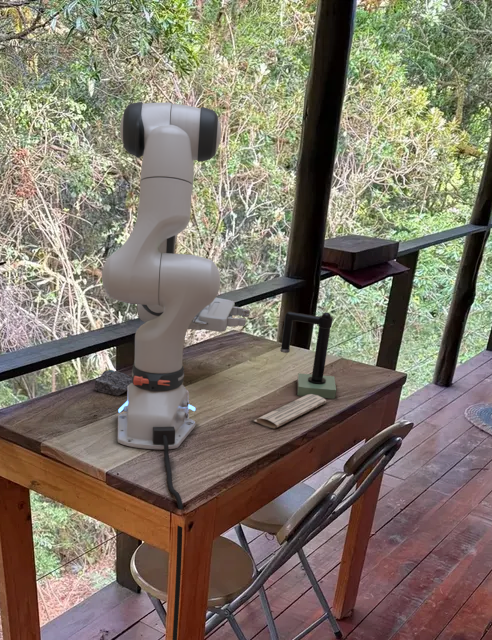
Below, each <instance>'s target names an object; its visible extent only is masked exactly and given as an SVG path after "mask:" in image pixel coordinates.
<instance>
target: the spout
mask: <svg viewBox="0 0 492 640" xmlns="http://www.w3.org/2000/svg"><path fill="white" fill-rule="evenodd" d="M333 319H334V318H333V316H332V315H331V313H329V312H323V313H322V315H320V316H317V315H311V314H306V313H299V312H294V311H287V312H286V313H285V315H284V321H283V329H282V339H281V347H280V353H283V354H288V353H290V351H291V349H290V346H291V339H292V332H293V331H292V330H293V324H294V323H293V322H301V323H307V324H313V325H318V328H319V327H321V328H330V329H331V328H332V327H333V321H334V320H333Z"/></svg>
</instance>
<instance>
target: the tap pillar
mask: <svg viewBox="0 0 492 640" xmlns="http://www.w3.org/2000/svg"><path fill="white" fill-rule="evenodd" d="M330 333H331V328H321V327H319V326H318V330H317V339H316V343H315V352H314V359H313V365H312V372H311V374H312V377H309V378H308V382H310V383H313V384H324V383H326V379H324V378H323V375H324V374H325V367H326V360H327V354H328V348H329V347H328V346H329V341H330Z"/></svg>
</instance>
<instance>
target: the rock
mask: <svg viewBox="0 0 492 640" xmlns="http://www.w3.org/2000/svg"><path fill="white" fill-rule="evenodd" d="M131 383H132V376H129V375H128V374H127V373H124V372H121V371H117V370H113V369H109V370H104V371H103V372H102V374H101V375H100V376H99V377H98V378H96V379H95V380H94V390H95V391H97V392H98V393H99V392H100V393H104V394H108V395H113V396H120V395H123V394H124V393H125V392H126V393H127V386H128V385H129V384H131Z"/></svg>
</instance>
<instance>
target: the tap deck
mask: <svg viewBox="0 0 492 640" xmlns="http://www.w3.org/2000/svg"><path fill="white" fill-rule="evenodd" d="M309 377H312V373H311V374H310V373H300V372H299V373H297V380H296V395H297V396H298V397H299V396H300V397H303V396H305V395H309V394H313V395H318V396H320V397H322V398H324V399H333V400H334V399H336V394H337V386H336V378H335V376H334V375H324V374H323V378H324V379H326V383H324V384H313V383H310V382H308V378H309Z"/></svg>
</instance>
